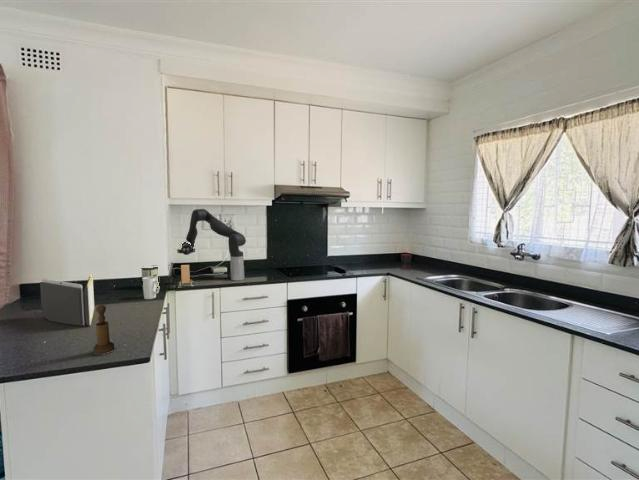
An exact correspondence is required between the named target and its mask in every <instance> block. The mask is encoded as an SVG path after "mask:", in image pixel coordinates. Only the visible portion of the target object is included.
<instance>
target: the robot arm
mask: <svg viewBox="0 0 639 480" xmlns="http://www.w3.org/2000/svg"><path fill="white" fill-rule="evenodd" d="M202 221H203V222H205V223H208V224H209V227H210V229H211V231H213V233H215V234H217V235H220V236H223V237H225V238H228V240H227V241H228V252H229V254H230V255H229V256H230V257H229V259H230V279H231V281H242V280H243V281H244V280H245V266H244V263H245V262H244V252H243V251H241V250H240V248H239V247H242V246H244V245H245V244H246V242H247V240H246V237H245V236H244V234H242V233H241V232H238V231H237V230H235V229H233V228H232V227H230V226H228V225H227V224H225V223H224V221H223V222H222V220H220V219H218V218H216V217H215V216H214V215H213V214H212V213H210V212H209V210H207V209H205V208H197V209H194V210H192V213H191V216H190V222H189V228H188V231H187V234H186V238H185V241H186V242H190V243H191V245H190V244H188V243H186V242H184V241H183V242H184V243H183V244H182V243H181V244H182V248H181V247H180V249H179V248H177V249H176V252H177V254H183V255H186V256H188V255H190V254H193V253H196V248H194V249H193V247H194V243H196V239H197V236H198V228H197V224H198V222H202Z"/></svg>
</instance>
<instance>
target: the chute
mask: <svg viewBox="0 0 639 480" xmlns="http://www.w3.org/2000/svg"><path fill="white" fill-rule="evenodd" d="M192 282H195V281H193V279H190V286H192V287H194V285H192ZM178 283H179V286H181V283H182V279H181V280H179V282H178Z"/></svg>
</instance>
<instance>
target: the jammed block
mask: <svg viewBox="0 0 639 480" xmlns="http://www.w3.org/2000/svg"><path fill="white" fill-rule="evenodd" d="M180 271H181V273H180V274H181V280H182V284H184V283H190V280H191V279H190V273H191V272H190V264H181V266H180Z"/></svg>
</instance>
